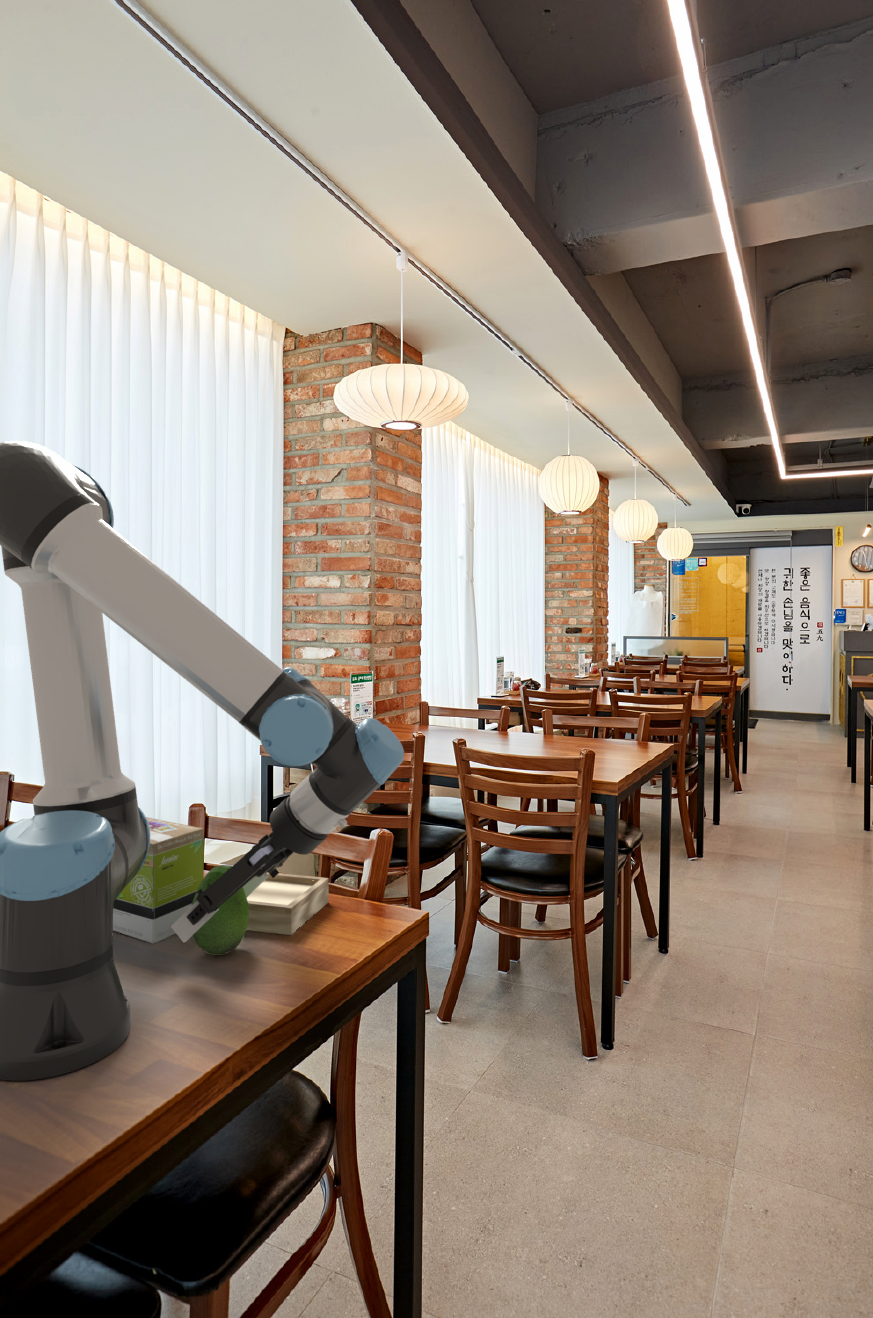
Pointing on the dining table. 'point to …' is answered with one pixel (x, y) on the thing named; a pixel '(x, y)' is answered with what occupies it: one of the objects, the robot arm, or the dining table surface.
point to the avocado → (223, 919)
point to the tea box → (161, 883)
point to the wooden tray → (286, 902)
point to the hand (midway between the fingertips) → (207, 914)
